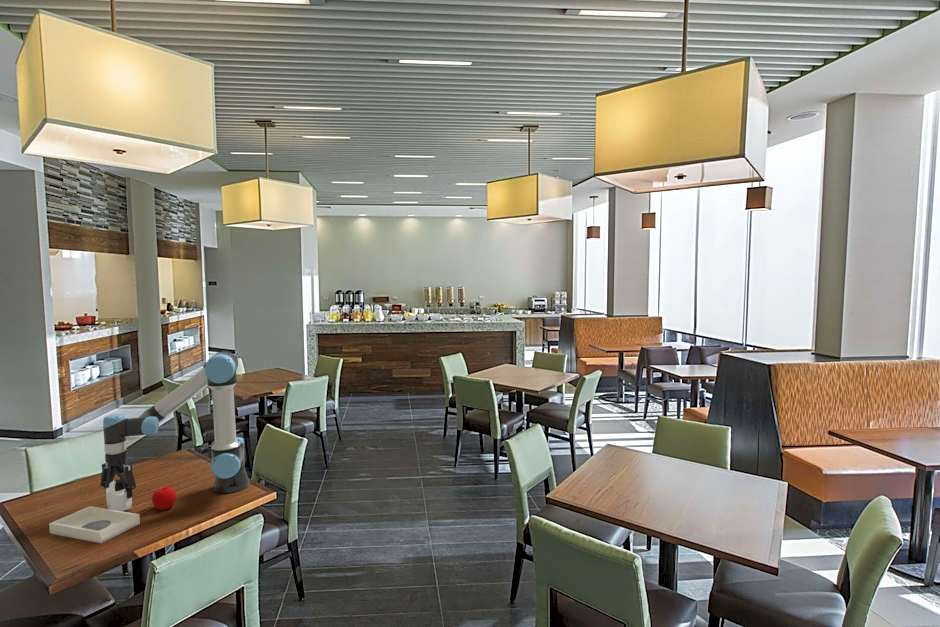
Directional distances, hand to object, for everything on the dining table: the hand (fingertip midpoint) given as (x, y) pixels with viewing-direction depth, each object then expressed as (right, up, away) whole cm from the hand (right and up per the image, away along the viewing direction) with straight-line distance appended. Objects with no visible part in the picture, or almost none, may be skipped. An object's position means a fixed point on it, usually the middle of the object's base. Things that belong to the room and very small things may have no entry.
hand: (119, 503), depth 220 cm
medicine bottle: (0, -2, 0) cm, 2 cm away
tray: (+1, -4, -16) cm, 16 cm away
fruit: (+17, -3, +3) cm, 18 cm away
